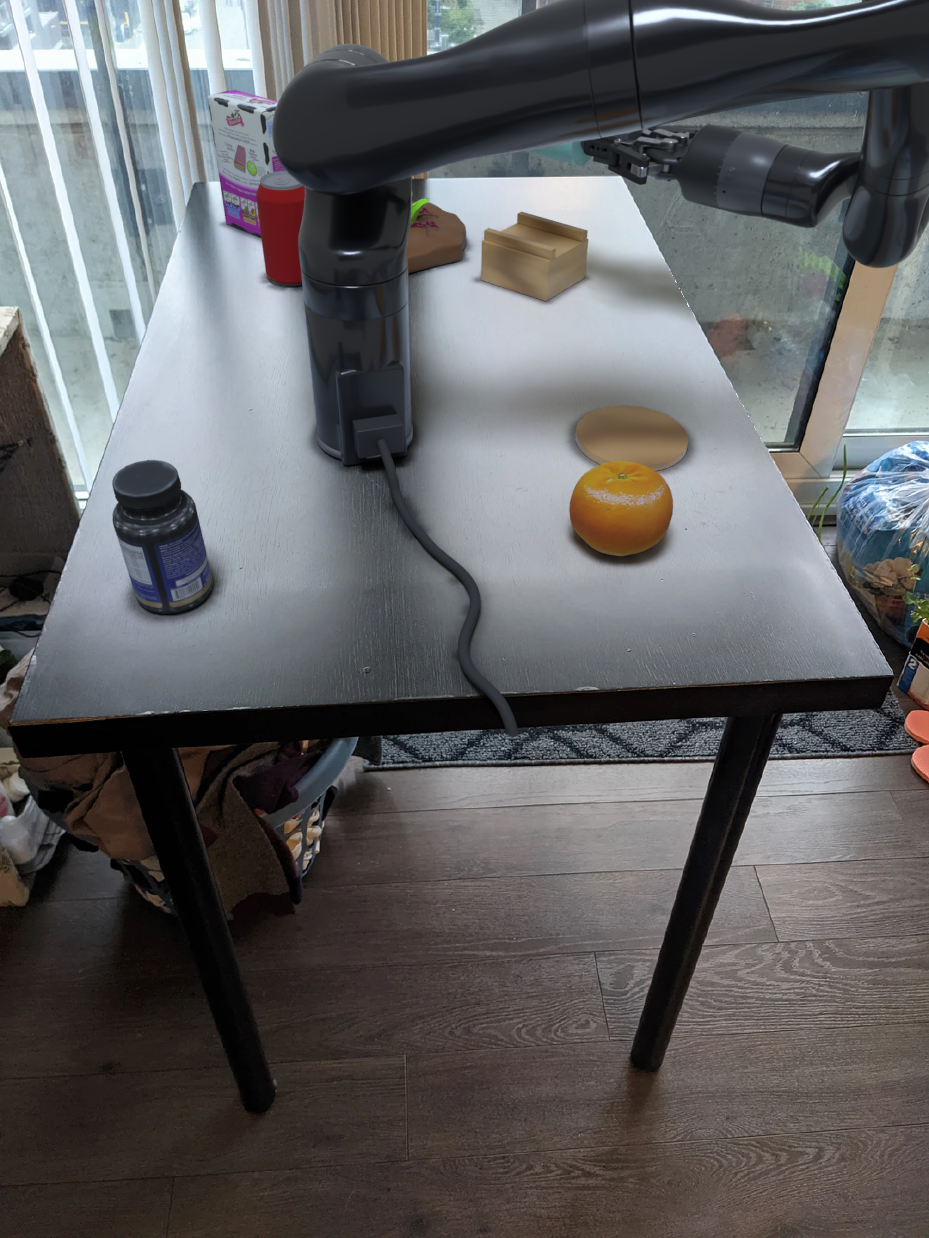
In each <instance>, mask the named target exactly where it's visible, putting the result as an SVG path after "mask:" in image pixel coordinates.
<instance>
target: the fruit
mask: <svg viewBox="0 0 929 1238" xmlns="http://www.w3.org/2000/svg"><path fill="white" fill-rule="evenodd" d="M568 507H569V508H568V509H569V511H568V512H569V513H568V514H569V519H570V524H571V526H572V528H573V529H574V531H575V533H576V534H577V535H578V536H579V538H581V539H582V540H583V541H584V542H585V543H586V544H587V545H588V546H589V547H591V548H592V549H594V550H595V551H597V552H599V553H602V554H605V555H610V556H616V557H626V556H630V555H636V554H639V553H642V552H645V551H646V550H649V549H650V548H653V547H654V546H656V545H657V544H659V542H660V541H661V540H662V539H663V538H664V536H665V535H666V533H667V531H668V529H669V527H670V524H671V521H672V518H673V515H674V514H673V513H674V512H673V511H674V498H673V493H672V490H671V488H670V486H669V484H668V482H667V481H666V479H665V478H664V477H663V476H662V475H661V474H660V473H659V472H658V471H655V470H653V469H651V468H649V467H647V466H645V465H642V464H639V463H634V462H628V461H612V462H607V463H604V464H598V465H597V466H594V467H592V468H590V469H589V470H587V471H586V472H584V474H583V475H582V476H580V478H579V480H577V482H576V484H575V486H574V488H573V491H572V494H571V496H570V501H569V506H568Z"/></svg>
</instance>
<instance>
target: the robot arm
mask: <svg viewBox="0 0 929 1238" xmlns="http://www.w3.org/2000/svg"><path fill="white" fill-rule="evenodd" d="M866 92H867V95H866V105H865V113H864V118H863V120H864V121H863V126H862V127H863V128H862V135H861V143H860V150H852V151H836V152H835V151H833V152H832V151H830V152H828V151H820V150H817V149H812V148H808V147H803V146H799V145H793V144H790V143H786V142H783V141H780V140H777V139H776V138H773V137H770V136H766V135H761V134H758V133H757V134H756V133H752V132H747V131H743V130H739V129H734V128H730V127H725V126H720V125H715V124H705V125H704V126H702V127H700V128H699V129H692V128H691V129H690V128H679V127H672V126H671V127H670V126H663V125H667V124H671V123H675V122H679V121H683V120H689V119H693V118H697V117H701V116H707V115H712V114H717V113H722V112H727V111H732V110H738V109H742V108H748V107H753V106H760V105H765V104H771V103H772V104H773V103H778V102H785V101H792V100H793V101H794V100H800V99H809V98H817V97H827V96H836V95H845V94H855V93H866ZM638 130H642V135H641V137H639V138H638V139H636V140H635V141H633V140H627V139H622V138H615V137H610V136H613V135H618V134H623V133H628V132H633V131H638ZM272 139H273V145H274V149H275V152H276V155H277V157H278V159H279V161H280V163H281V164H282V166H283V167H284V168H285V170H286V171H287V172H288V174H289V175H291V176H292V177H293V178H294V179H295V180H296V181H297V182H298V183H300V184H301V185H303V186H305V200H304V209H303V216H302V221H301V226H300V230H299V237H298V247H299V257H300V266H301V276H302V295H303V305H304V306H303V307H304V315H305V316H304V317H305V323H306V324H305V326H306V336H307V346H308V355H309V356H308V357H309V363H310V365H309V366H310V376H311V384H312V385H311V386H312V394H313V404H314V412H315V422H316V423H315V424H316V429H315V431H316V442H317V444H318V446H319V447H320V448H321V450H322V451H323V452H325V453H327V454H328V455H330V456H332V457H334V458H337V459H339V460H341V461H342V464H343V465H344V466H351V465H353V466H354V465H358V464H364V463H371V462H378V461H382V463H383V466H384V469H385V472H386V475H387V480H388V485H389V490H390V494H391V497H392V500H393V503H394V505H395V507H396V509H397V511H398V513H399V516H400V517H401V519H402V521H403V522H404V524H405V525H406V526H407V528H408V529H409V530H410V531H411V533H413V534H414V536H415V537H416V538H417V539H418V540H419V542H420V543H421V544H422V545H423V547H424V548H425V549H426V550H427V551H428V552H429V553H430V554H431V555H432V556H433V557H434V558H436V559H437V560H438V561H439V562H440V563H442V564H443V565H444V566H445V567H447V568H448V569H449V570H450V571H451V572H452V573H454V574H455V575H456V576H457V577H458V578H459V579H460V580H461V582H462V583H463V585H464V587H465V589H466V591H467V592H468V593H467V594H468V597H469V607H468V611H467V614H466V617H465V619H464V621H463V624H462V627H461V629H460V632H459V635H458V641H457V657H458V662H459V665H460V668H461V670H462V671H463V673H464V674H465V676H466V677H467V678H468V679H469V681H471V683H473V685H474V686H476V687H477V688H478V689H479V690H480V691H481V692H483V693H484V695H486V696H487V698H488V699H489V700H490V701H491V702H492V703H493V705H494V707H495V708H496V710H497V711H498V714H499V716H500V719H501V720H502V723H503V727H504V730H505V733H506V735H507V736H508V737H511V738H517V737H518V735H519V728H518V724H517V720H516V718H515V715H514V713H513V711H512V709H511V706H510V705H509V703H508V701H507V700H506V698H505V697H504V696H503V694H502V693H501V692H500V691H499V689H498V688H496V687H495V685H493V683H491V682H490V681H489V680H488V679H487V678H486V677H485V676H484V675H482V674H481V672H479V671H478V670H477V668H476V667H475V665H474V663H473V660H472V658H471V655H470V641H471V638H472V634H473V632H474V629H475V626H476V624H477V621H478V619H479V616H480V611H481V603H482V602H481V601H482V600H481V592H480V590H479V587H478V584H477V582H476V581H475V579H474V578H473V576H472V575H471V574H470V573H469V571H468V570H466V569H465V568H464V566H462V565H461V564H460V563H459V562H458V561H457V560H455V559H454V558H453V557H451V556H450V555H449V554H448V553H447V552H445V551H444V550H443V549H441V548H440V546H439V545H438V544H436V543H435V541H433V539H432V538H431V536H429V535H428V533H427V532H426V531H425V530H424V529H423V528H422V527H421V525H420V524H419V523H418V522H417V520H415V517H414V516H413V515H412V514H411V512H410V510H409V507H408V506H407V504H406V502H405V499H404V497H403V494H402V492H401V487H400V481H399V478H398V474H397V469H396V466H395V463H394V460H393V459H396V458H402V457H406V456H408V447H409V446H410V444H411V443H412V441H413V437H414V426H413V423H412V421H413V420H412V392H411V391H412V390H411V389H412V388H411V350H410V345H411V344H410V310H409V309H410V308H409V307H410V306H409V305H410V304H409V302H410V301H409V296H410V295H409V273H408V238H409V231H410V224H411V214H412V201H413V177H414V176H418V175H420V174H424V173H427V172H430V171H434V170H436V169H439V168H442V167H446V166H450V165H453V164H457V163H461V162H465V161H469V160H474V159H475V160H476V159H482V158H487V157H488V158H489V157H495V156H502V155H510V154H517V153H525V152H524V151H530V150H535V149H541V148H546V147H552V146H557V145H562V144H568V143H573V142H580V141H584V148H583V151H584V153H585V154H586V155H589V156H592V157H597V158H601V159H605V160H609V163H608V165H607V170H608V171H610V172H612V173H614V174H616V175H618V176H620V177H622V178H624V179H626V180H628V181H630V182H632V183H635V184H637V185H638V186H643V185H646V184H647V182H648V177H651V178H654V180H656V181H660V182H667V183H668V182H671V181H677V182H678V184H679V187H680V192H681V195H682V197H683V199H684V200H685V201H687V202H690V203H694V204H696V205H697V204H698V205H701V206H705V207H709V208H713V209H717V210H721V211H725V212H729V213H733V214H735V215H740V216H745V217H754V218H755V217H756V218H762V219H767V220H771V221H774V222H777V223H781V224H786V225H791V226H794V227H799V228H802V229H815V228H817V227H819V226H820V225H822V224H823V223H824V221H826V220H827V218H828V217H829V216H830V215H831V214H832V213H833V212H834V210H835V209H836V208H837V207H838V206H839V205H840V204H841V203H842V202H844V201H845V200H847V199H849V202H848V205H847V208H846V211H845V215H844V217H843V222H842V226H841V239H842V243H843V245H844V248H845V250H846V251H847V253H848V254H849V255H850V256H851V258H852V259H853V260H854V261H856V262H857V263H859V264H860V265H863V266H864V267H868V268H872V269H873V268H874V269H885V268H891V267H894V266H897V265H899V264H901V263H902V262H904V261H905V260H906V259H907V258H909V257H910V256H911V255H912V254H913V252H914V251H915V249H916V248H917V246H918V244H919V242H920V240H921V238H922V237H923V234H924V232H925V231H926V228H927V227H928V224H929V0H861V1H860V2H855V3H850V4H844V5H837V6H830V7H829V6H828V7H821V8H815V9H801V10H799V9H798V10H796V9H793V10H792V9H781V8H774V7H769V6H764V5H760V4H759V3H758V4H757V3H754V2H751V1H748V0H556V1H554V2H551V3H548V4H545V5H543V6H540V7H538V8H535V9H533V10H531V11H528V12H525V13H524V14H521V15H519V16H517V17H514V18H513V19H511V20H508V21H506V22H504V23H502V24H500V25H498V26H496V27H494V28H492V29H489V30H487V31H485V32H484V33H481V34H479V35H477V36H475V37H472V38H471V39H468V40H467V41H465V42H461V43H460V44H457V45H455V46H453V47H450V48H446V49H444V50H441V51H437V52H434V53H430V54H426V55H422V56H421V55H420V56H415V57H411V58H405V59H399V60H392V61H389V60H388V59H387V58H386V57H385V56H384V55H382V54H381V53H379V52H378V51H376V50H375V49H373V48H371V47H368V46H366V45H362V44H357V43H340V44H337V45H333V46H329V47H328V48H326V49H324V50H322V51H321V52H319V53H318V54H316V55H315V56H314V57H313V58H312V59H311V60H309V62H307V63H306V64H305V65H304V66H303V67H302V68H301V69H300V70H298V72H297V73H296V74H295V75H294V76H293V77H292V79H290V80H289V82H288V83H286V86H285V88H284V89H283V92H282V93H281V94H280V96H279V98H278V103H277V106H276V109H275V113H274V117H273V123H272ZM630 148H631V149H630Z"/></svg>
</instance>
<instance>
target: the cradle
mask: <svg viewBox="0 0 929 1238" xmlns="http://www.w3.org/2000/svg"><path fill="white" fill-rule="evenodd" d="M588 231H589V230H588V229H584V228H580V227H577V226H574V225H571V224H567V223H563V222H560V221H556V220H553V219H549V218H547V217H543V216H539V215H536V214H532V213H528V212H525V211H520V212H518V213H517V215H516V223H514V224H512V225H510V226H508V227H506V228H505V229H503V230H501V231H500V230H497V229H494V228H492V227H491V228H490V227H488V228H486V229H484V231H483V239H482V240H481V256H480V258H481V260H480V281H483V282H486V283H489V284H492V285H495V286H498V287H500V288H504V289H507V290H510V291H513V292H516V293H519V294H522V295H524V296H529V297H531V298H534V299H538V300H540V301H543V302H548V301H549V300H550V299H553V298H554V297H556V296H558V295H559V294H560V293H562V292H563V291H566V290H567V289H569V288H570V287H572V286H574V285H575V284H577V283H578V282H581V281H582V280H583V279H585V276H586V266H587V258H588V247H589V239H588Z"/></svg>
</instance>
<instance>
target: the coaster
mask: <svg viewBox="0 0 929 1238" xmlns="http://www.w3.org/2000/svg"><path fill="white" fill-rule="evenodd" d="M574 436H575V437H574V439H575V443H576V446H577V448H578V449H579V451H580V452H581V453H582V454H583V455H584V456H585V457H587V458H588V459H589V460H591V461H592V462H595V463H596V464H598V465H601V464H604V463H607V462H612V461H628V462H634V463H639V464H642V465H645V466H647V467H649V468H651V469H653V470H655V471H656V472H658V471H662V470H665V469H668V468H671V467H673V466H674V465H677V464H678V463H679V462H680V461H682V459H683V458H684V457H685V456H686V454H687V450H688V447H689V435H688V433H687V430H686V429H685V427H684V426H683V425H682V424H680V422H679V421H677V420H676V419H675V418H673V417H671V416H670V415H668V414H667V413H664V412H661V411H659V410H656V409H653V408H648V407H644V406H638V405H629V404H628V405H627V404H624V405H623V404H622V405H619V404H618V405H609V406H604V407H599V408H597V409H595V410H592V411H590V412H587V413H586V414H584V415H583V416H582V417H581V418H580V420H579V421H578V423H577V424H576V427H575V435H574Z"/></svg>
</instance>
